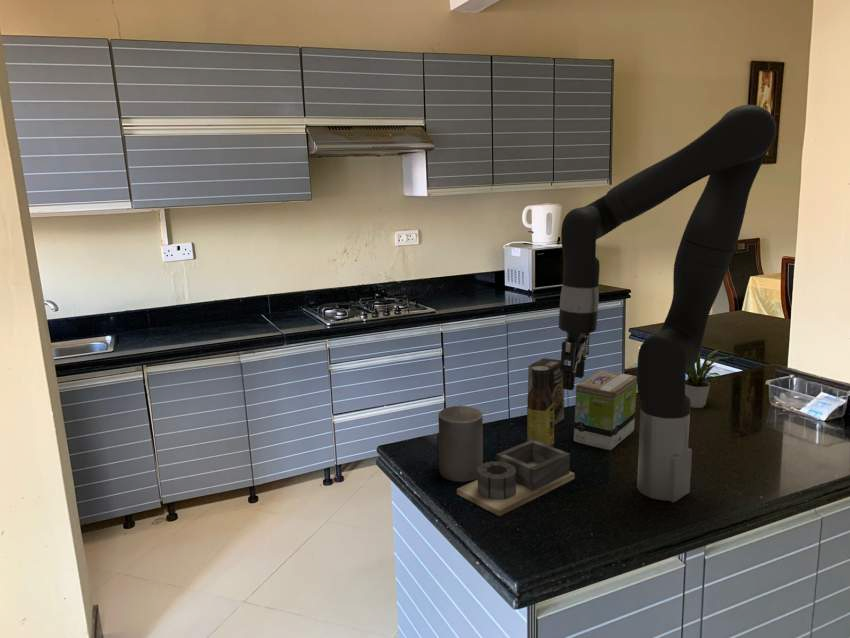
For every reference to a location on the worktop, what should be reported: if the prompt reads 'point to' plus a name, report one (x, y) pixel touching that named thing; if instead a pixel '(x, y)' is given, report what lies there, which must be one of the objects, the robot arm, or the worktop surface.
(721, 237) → the robot arm
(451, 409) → the pillar candle
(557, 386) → the coffee box
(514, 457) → the socket board
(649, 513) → the worktop surface
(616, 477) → the worktop surface
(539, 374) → the sauce bottle
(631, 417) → the tea box
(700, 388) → the house plant
